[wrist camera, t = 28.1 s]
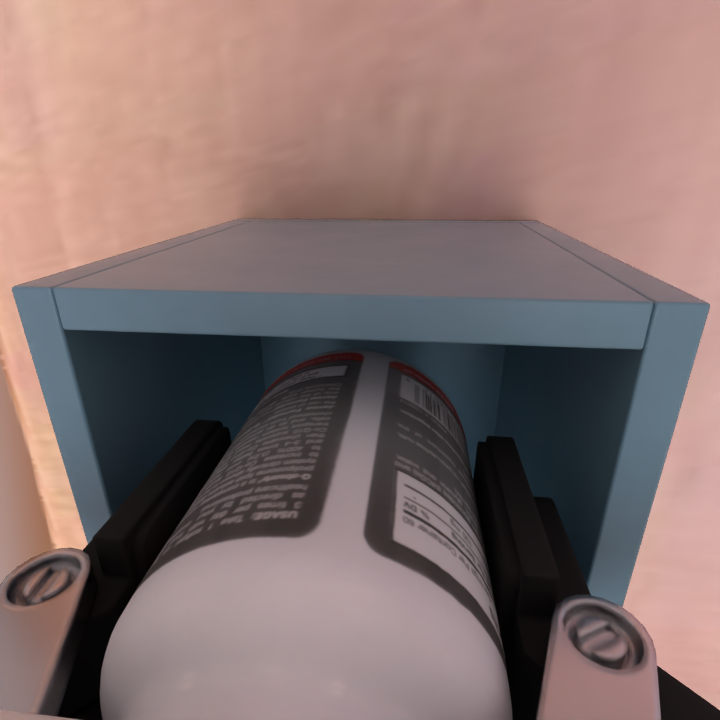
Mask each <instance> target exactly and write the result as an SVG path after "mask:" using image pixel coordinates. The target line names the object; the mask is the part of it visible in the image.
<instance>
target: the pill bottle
mask: <svg viewBox="0 0 720 720" xmlns="http://www.w3.org/2000/svg"><path fill="white" fill-rule="evenodd" d="M100 708H101V714H102V719H103V720H513V718H512V704H511V697H510V689H509V682H508V675H507V669H506V662H505V654H504V650H503V645H502V640H501V635H500V630H499V624H498V618H497V611H496V606H495V600H494V595H493V590H492V584H491V578H490V573H489V567H488V561H487V556H486V550H485V544H484V539H483V533H482V528H481V522H480V517H479V511H478V505H477V500H476V494H475V488H474V481H473V477H472V471H471V466H470V460H469V454H468V449H467V442H466V436H465V433H464V430H463V427H462V423H461V421H460V418H459V416H458V413H457V411H456V409H455V407H454V405H453V404H452V402H451V401H450V399H449V398H448V396H447V395H446V394H445V392H444V391H443V390H442V389H441V388H440V387H439V385H438V384H437V383H436V382H435V381H433V380H432V379H431V378H430V377H429V376H428V375H426V374H425V373H424V372H422V371H421V370H419V369H418V368H416V367H415V366H413V365H411V364H409V363H407V362H405V361H403V360H400V359H398V358H396V357H393V356H390V355H386V354H383V353H379V352H374V351H368V350H338V351H331V352H327V353H322V354H319V355H316V356H313V357H310V358H308V359H306V360H303V361H301V362H300V363H298V364H296V365H294V366H293V367H291V368H290V369H288V370H287V371H286V372H284V373H283V374H282V375H281V376H280V377H279V378H277V379H276V380H275V381H274V382H273V384H272V385H271V386H270V387H269V388H268V389H267V390H266V392H265V393H264V394H263V396H262V397H261V399H260V400H259V402H258V404H257V405H256V407H255V409H254V410H253V412H252V413H251V415H250V416H249V418H248V419H247V421H246V422H245V424H244V425H243V427H242V428H241V430H240V431H239V433H238V434H237V436H236V437H235V439H234V441H233V442H232V444H231V445H230V447H229V448H228V450H227V451H226V453H225V454H224V456H223V457H222V459H221V460H220V462H219V464H218V465H217V467H216V468H215V470H214V471H213V473H212V474H211V476H210V477H209V479H208V481H207V482H206V484H205V485H204V487H203V488H202V490H201V491H200V493H199V494H198V496H197V498H196V499H195V501H194V502H193V503H192V505H191V507H190V508H189V510H188V511H187V513H186V514H185V516H184V517H183V519H182V520H181V522H180V523H179V525H178V526H177V528H176V530H175V531H174V533H173V534H172V536H171V537H170V539H169V540H168V542H167V543H166V544H165V546H164V547H163V549H162V551H161V552H160V554H159V555H158V557H157V558H156V560H155V561H154V563H153V565H152V566H151V568H150V569H149V571H148V572H147V574H146V575H145V577H144V578H143V580H142V581H141V583H140V584H139V586H138V587H137V589H136V591H135V592H134V594H133V596H132V598H131V599H130V601H129V603H128V605H127V606H126V608H125V610H124V611H123V613H122V615H121V616H120V618H119V620H118V621H117V623H116V625H115V628H114V630H113V632H112V634H111V637H110V640H109V643H108V646H107V649H106V652H105V656H104V660H103V664H102V669H101V680H100Z"/></svg>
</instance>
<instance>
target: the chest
mask: <svg viewBox="0 0 720 720" xmlns="http://www.w3.org/2000/svg"><path fill="white" fill-rule="evenodd" d="M12 292H13V295H14V298H15V302H16V305H17V308H18V312H19V315H20V318H21V322H22V325H23V328H24V332H25V335H26V338H27V342H28V345H29V348H30V352H31V355H32V359H33V362H34V365H35V369H36V372H37V375H38V379H39V382H40V385H41V389H42V392H43V395H44V399H45V402H46V405H47V409H48V412H49V415H50V419H51V422H52V425H53V429H54V432H55V435H56V439H57V442H58V445H59V449H60V452H61V455H62V459H63V462H64V466H65V469H66V472H67V476H68V479H69V482H70V486H71V489H72V492H73V496H74V499H75V502H76V506H77V509H78V512H79V516H80V519H81V522H82V526H83V529H84V532H85V536H86V539H87V542H88V544H89V543H90V541H91V540H92V539H93V536H94V535H95V534H96V533H97V532H98V531H99V530H100V528H101V527H102V526H103V525H104V524H105V523H106V522H107V520H108V519H109V518H110V517H111V516H112V515H113V514H114V512H115V511H116V510H117V509H118V508H119V507H120V506H121V504H122V503H123V502H124V501H125V500H126V499H127V498H128V496H129V495H130V494H131V493H132V492H133V491H134V490H135V488H136V487H137V486H138V485H139V484H140V483H141V482H142V481H143V479H144V478H145V477H146V476H147V475H148V474H149V473H150V471H151V470H152V469H153V468H154V467H155V466H156V465H157V463H158V462H159V461H160V460H161V459H162V458H163V457H164V455H165V454H166V453H167V452H168V451H169V450H170V449H171V447H172V446H173V445H174V444H175V443H176V442H177V441H178V439H179V438H180V437H181V436H182V435H183V434H184V433H185V431H186V430H187V429H188V428H189V427H190V426H191V425H192V423H193V422H194V421H196V420H215V421H221V422H222V424H223V427H228V428H229V430H230V436H231V443H232V442H233V441H234V439H235V437H236V436H237V434H238V433H239V431H240V430H241V428H242V427H243V425H244V424H245V422H246V421H247V419H248V418H249V416H250V415H251V413H252V412H253V410H254V409H255V407H256V405H257V404H258V402H259V400H260V399H261V397H262V396H263V394H264V393H265V392H266V390H267V389H268V388H269V387H270V386H271V385H272V384H273V382H274V381H275V380H276V379H277V378H279V377H280V376H281V375H282V374H283V373H284V372H286V371H287V370H288V369H290V368H291V367H293V366H294V365H296V364H298V363H300V362H301V361H303V360H306V359H308V358H310V357H313V356H316V355H319V354H322V353H327V352H331V351H338V350H368V351H374V352H379V353H383V354H386V355H390V356H393V357H396V358H398V359H400V360H403V361H405V362H407V363H409V364H411V365H413V366H415V367H416V368H418V369H419V370H421V371H422V372H424V373H425V374H426V375H428V376H429V377H430V378H431V379H432V380H433V381H435V382H436V383H437V384H438V385H439V387H440V388H441V389H442V390H443V391H444V392H445V394H446V395H447V396H448V398H449V399H450V401H451V402H452V404H453V405H454V407H455V409H456V411H457V413H458V416H459V418H460V421H461V423H462V427H463V430H464V433H465V436H466V442H467V449H468V454H469V460H470V466H471V471H472V477H473V479H474V469H475V460H476V450H477V443H478V441H480V442H486V438H487V436H502V437H513V439H514V441H515V444H516V447H517V450H518V453H519V456H520V459H521V462H522V465H523V468H524V471H525V474H526V477H527V480H528V483H529V486H530V489H531V492H532V495H533V496H534V497H549V498H551V499H552V500H553V501H554V503H555V505H556V508H557V510H558V513H559V515H560V518H561V520H562V523H563V526H564V528H565V531H566V533H567V536H568V538H569V541H570V543H571V546H572V548H573V551H574V553H575V556H576V558H577V561H578V563H579V566H580V568H581V571H582V573H583V576H584V579H585V581H586V584H587V586H588V589H589V591H590V594H591V595H593V596H597V597H601V598H605V599H607V600H609V601H611V602H613V603H615V604H618V605H619V606H621V607H623V603H624V600H625V596H626V593H627V589H628V586H629V583H630V579H631V576H632V572H633V569H634V565H635V562H636V559H637V555H638V552H639V548H640V545H641V541H642V538H643V535H644V531H645V528H646V524H647V521H648V517H649V514H650V511H651V507H652V504H653V500H654V497H655V493H656V490H657V487H658V483H659V480H660V476H661V473H662V469H663V466H664V462H665V459H666V456H667V452H668V449H669V445H670V442H671V438H672V435H673V432H674V428H675V425H676V421H677V418H678V414H679V411H680V408H681V404H682V401H683V397H684V394H685V390H686V387H687V384H688V380H689V377H690V373H691V370H692V366H693V363H694V360H695V356H696V353H697V349H698V346H699V342H700V339H701V336H702V332H703V329H704V325H705V322H706V318H707V315H708V312H709V308H710V304H709V303H707V302H705V301H703V300H701V299H699V298H697V297H694V296H692V295H690V294H688V293H686V292H684V291H682V290H680V289H678V288H676V287H674V286H672V285H670V284H668V283H665V282H663V281H661V280H659V279H657V278H655V277H653V276H651V275H649V274H647V273H645V272H643V271H641V270H638V269H636V268H634V267H632V266H630V265H628V264H626V263H624V262H622V261H620V260H618V259H616V258H614V257H611V256H609V255H607V254H605V253H603V252H601V251H599V250H597V249H595V248H593V247H591V246H589V245H587V244H585V243H582V242H580V241H578V240H576V239H574V238H572V237H570V236H568V235H566V234H564V233H562V232H560V231H558V230H555V229H553V228H551V227H549V226H547V225H545V224H543V223H541V222H538V221H507V220H342V219H236V220H233V221H229V222H226V223H223V224H219V225H216V226H213V227H209V228H206V229H203V230H199V231H196V232H193V233H189V234H186V235H183V236H179V237H176V238H173V239H169V240H166V241H163V242H159V243H156V244H153V245H149V246H146V247H143V248H139V249H136V250H133V251H130V252H126V253H123V254H120V255H116V256H113V257H110V258H106V259H103V260H100V261H96V262H93V263H90V264H86V265H83V266H80V267H76V268H73V269H70V270H66V271H63V272H60V273H56V274H53V275H50V276H46V277H43V278H40V279H36V280H33V281H30V282H26V283H23V284H20V285H16V286H14V287H13V288H12Z"/></svg>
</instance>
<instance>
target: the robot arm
mask: <svg viewBox="0 0 720 720" xmlns="http://www.w3.org/2000/svg"><path fill="white" fill-rule="evenodd" d="M231 444H232V443H231V436H230V430H229V428H228V427H223V424H222V422H221V421H215V420H196V421H194V422H193V423H192V425H191V426H190V427H189V428H188V429H187V430H186V431H185V433H184V434H183V435H182V436H181V437H180V438H179V439H178V441H177V442H176V443H175V444H174V445H173V446H172V447H171V449H170V450H169V451H168V452H167V453H166V454H165V455H164V457H163V458H162V459H161V460H160V461H159V462H158V463H157V465H156V466H155V467H154V468H153V469H152V470H151V471H150V473H149V474H148V475H147V476H146V477H145V478H144V479H143V481H142V482H141V483H140V484H139V485H138V486H137V487H136V488H135V490H134V491H133V492H132V493H131V494H130V495H129V496H128V498H127V499H126V500H125V501H124V502H123V503H122V504H121V506H120V507H119V508H118V509H117V510H116V511H115V512H114V514H113V515H112V516H111V517H110V518H109V519H108V520H107V522H106V523H105V524H104V525H103V526H102V527H101V528H100V530H99V531H98V532H97V533H96V534H95V535H94V536H93V539H92V540H91V541H90V543H89V544H88V545H87V546H86V547H85V548H84V549H83V551H82V550H79V549H74V548H61V549H55V550H52V551H48V552H45V553H42V554H40V555H37V556H35V557H33V558H31V559H29V560H28V561H26V562H24V563H23V564H21V565H19V566H18V567H17V568H16V569H14V570H13V571H12V572H11V573H10V574H9V575H8V576H6V578H5V579H4V580H3V582H2V583H1V584H0V720H103V719H102V714H101V708H100V680H101V669H102V664H103V660H104V656H105V652H106V649H107V646H108V643H109V640H110V637H111V634H112V632H113V630H114V628H115V625H116V623H117V621H118V620H119V618H120V616H121V615H122V613H123V611H124V610H125V608H126V606H127V605H128V603H129V601H130V599H131V598H132V596H133V594H134V592H135V591H136V589H137V587H138V586H139V584H140V583H141V581H142V580H143V578H144V577H145V575H146V574H147V572H148V571H149V569H150V568H151V566H152V565H153V563H154V561H155V560H156V558H157V557H158V555H159V554H160V552H161V551H162V549H163V547H164V546H165V544H166V543H167V542H168V540H169V539H170V537H171V536H172V534H173V533H174V531H175V530H176V528H177V526H178V525H179V523H180V522H181V520H182V519H183V517H184V516H185V514H186V513H187V511H188V510H189V508H190V507H191V505H192V503H193V502H194V501H195V499H196V498H197V496H198V494H199V493H200V491H201V490H202V488H203V487H204V485H205V484H206V482H207V481H208V479H209V477H210V476H211V474H212V473H213V471H214V470H215V468H216V467H217V465H218V464H219V462H220V460H221V459H222V457H223V456H224V454H225V453H226V451H227V450H228V448H229V447H230V445H231ZM473 481H474V488H475V494H476V500H477V505H478V511H479V517H480V522H481V528H482V533H483V539H484V544H485V550H486V556H487V561H488V567H489V573H490V578H491V584H492V590H493V595H494V600H495V606H496V611H497V618H498V624H499V630H500V635H501V640H502V645H503V650H504V654H505V662H506V669H507V675H508V682H509V689H510V697H511V704H512V718H513V720H720V710H718V709H717V708H716V707H714V706H713V705H711V704H710V703H709V702H707V701H706V700H704V699H703V698H702V697H700V696H699V695H697V694H696V693H695V692H693V691H692V690H691V689H689V688H688V687H686V686H685V685H684V684H682V683H681V682H679V681H678V680H677V679H675V678H674V677H672V676H671V675H670V674H668V673H667V672H665V671H664V670H663V669H661V668H660V667H658V666H657V658H656V651H655V648H654V644H653V640H652V639H651V637H650V635H649V634H648V632H647V630H646V629H645V627H644V626H643V625H642V624H641V623H640V622H639V621H638V620H637V619H636V618H635V617H634V616H633V615H632V614H631V613H629V612H628V611H627V610H625V609H624V608H622V607H621V606H619V605H618V604H615V603H613V602H611V601H609V600H607V599H605V598H601V597H597V596H593V595H591V594H590V591H589V589H588V586H587V584H586V581H585V579H584V576H583V573H582V571H581V568H580V566H579V563H578V561H577V558H576V556H575V553H574V551H573V548H572V546H571V543H570V541H569V538H568V536H567V533H566V531H565V528H564V526H563V523H562V520H561V518H560V515H559V513H558V510H557V508H556V505H555V503H554V501H553V500H552V499H551V498H549V497H534V496H533V495H532V492H531V489H530V486H529V483H528V480H527V477H526V474H525V471H524V468H523V465H522V462H521V459H520V456H519V453H518V450H517V447H516V444H515V441H514V439H513V437H502V436H487V438H486V442H480V441H478V443H477V450H476V460H475V469H474V479H473Z"/></svg>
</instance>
